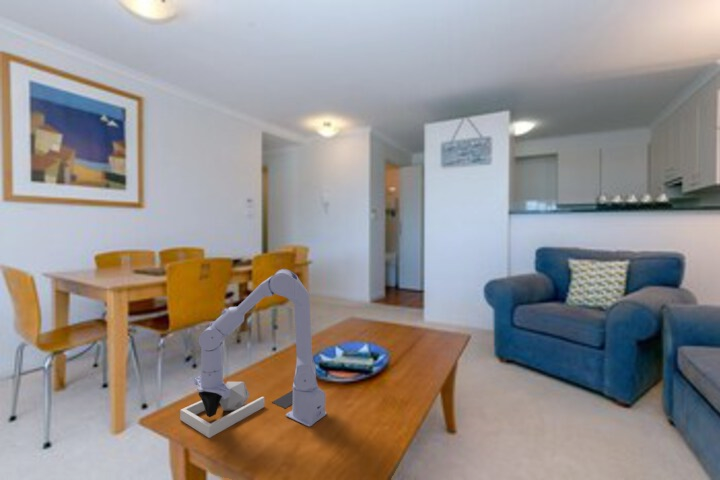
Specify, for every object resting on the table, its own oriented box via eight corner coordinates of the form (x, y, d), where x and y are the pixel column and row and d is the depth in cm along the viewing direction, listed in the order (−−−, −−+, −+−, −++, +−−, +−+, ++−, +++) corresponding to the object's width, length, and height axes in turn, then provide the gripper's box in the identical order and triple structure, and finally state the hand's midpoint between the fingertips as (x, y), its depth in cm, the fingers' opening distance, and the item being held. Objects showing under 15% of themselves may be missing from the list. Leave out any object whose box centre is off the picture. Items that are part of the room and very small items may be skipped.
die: (229, 422, 94) (250, 391, 97) (206, 404, 95) (228, 374, 98) (238, 416, 102) (258, 388, 104) (217, 400, 103) (237, 372, 106)
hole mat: (307, 395, 109) (307, 394, 109) (285, 408, 100) (285, 408, 100) (294, 390, 112) (294, 389, 112) (271, 402, 104) (271, 402, 104)
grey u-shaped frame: (264, 406, 101) (264, 397, 101) (209, 437, 86) (209, 426, 86) (236, 393, 109) (236, 384, 109) (180, 419, 93) (180, 409, 93)
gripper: (184, 366, 94) (183, 413, 94) (214, 380, 86) (213, 430, 86) (207, 359, 100) (206, 402, 100) (237, 371, 92) (236, 418, 92)
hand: (211, 415), depth 94 cm, fingers closed
